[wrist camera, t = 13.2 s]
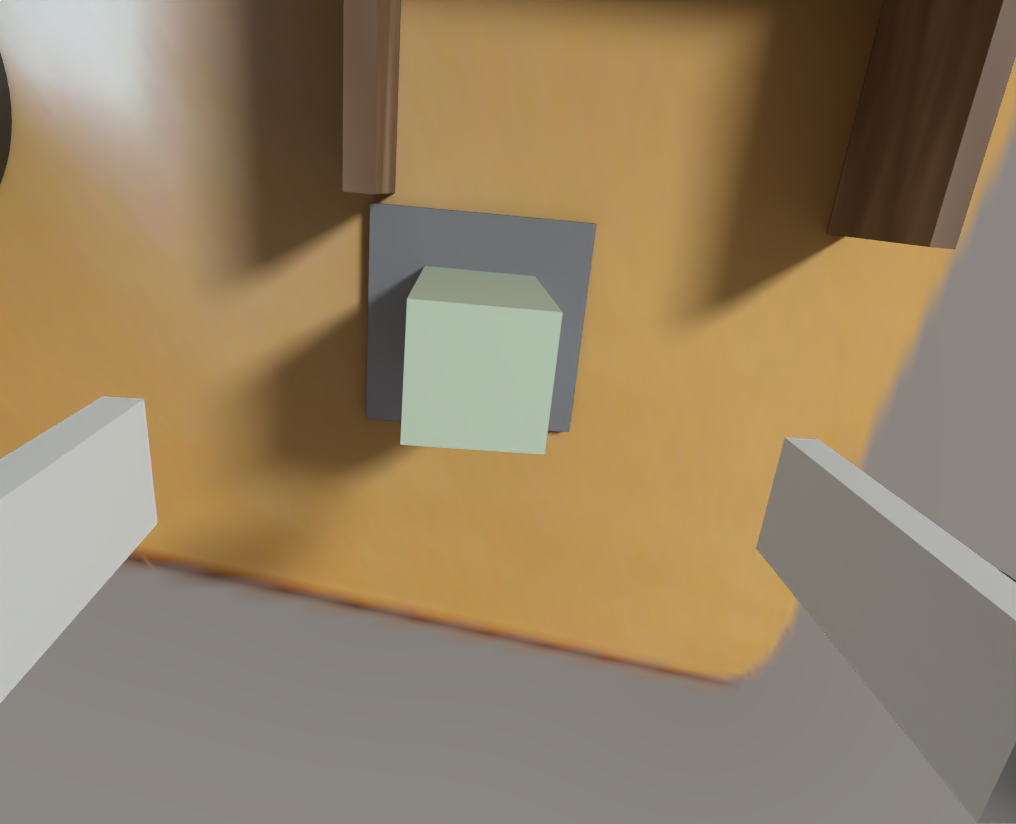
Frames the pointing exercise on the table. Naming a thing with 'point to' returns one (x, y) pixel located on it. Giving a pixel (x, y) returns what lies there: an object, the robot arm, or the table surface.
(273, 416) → the table surface
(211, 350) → the table surface
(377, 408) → the mat
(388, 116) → the cubby
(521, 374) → the block
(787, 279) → the table surface
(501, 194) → the table surface
